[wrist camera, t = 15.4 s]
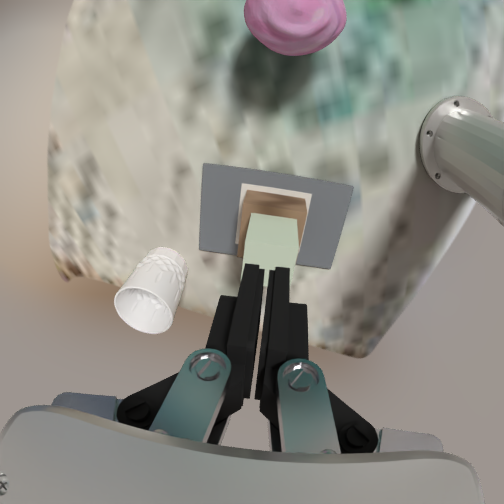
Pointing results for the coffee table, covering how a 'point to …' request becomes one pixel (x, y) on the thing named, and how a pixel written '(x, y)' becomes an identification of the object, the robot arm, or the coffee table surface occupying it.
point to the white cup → (153, 291)
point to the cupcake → (295, 24)
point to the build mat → (242, 179)
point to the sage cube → (271, 243)
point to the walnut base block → (271, 212)
